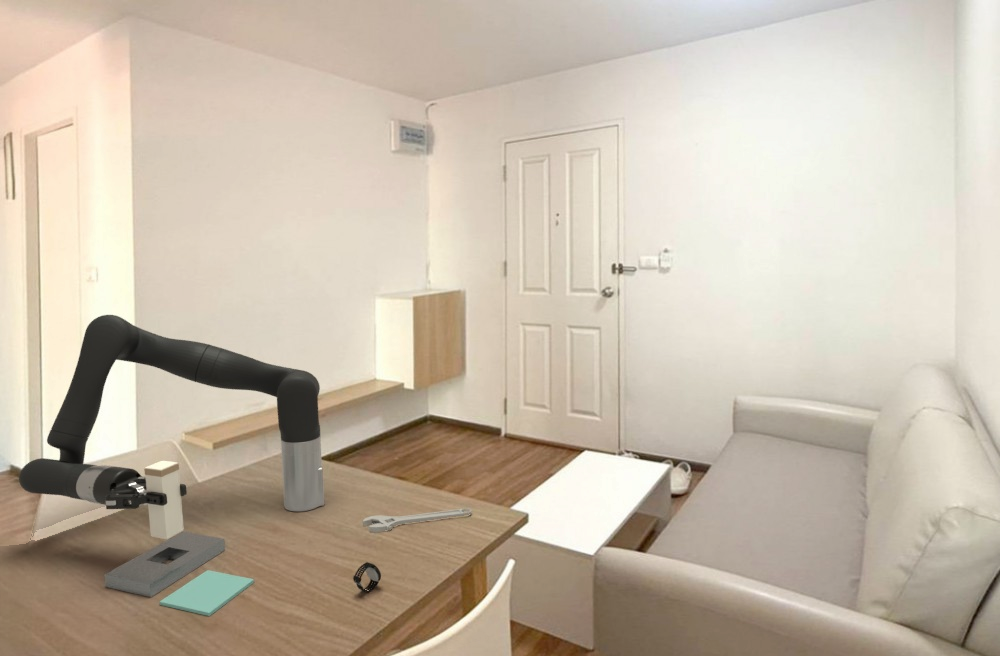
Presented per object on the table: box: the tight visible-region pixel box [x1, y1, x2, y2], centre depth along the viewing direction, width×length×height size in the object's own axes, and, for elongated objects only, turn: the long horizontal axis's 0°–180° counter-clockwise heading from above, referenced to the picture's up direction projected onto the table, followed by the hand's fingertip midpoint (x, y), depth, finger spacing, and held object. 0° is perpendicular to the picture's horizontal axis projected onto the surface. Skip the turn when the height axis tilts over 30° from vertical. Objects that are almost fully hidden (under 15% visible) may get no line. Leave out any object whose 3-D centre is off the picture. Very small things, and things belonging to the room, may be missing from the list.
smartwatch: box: [352, 561, 382, 594], centre depth 108 cm, size 4×5×5 cm
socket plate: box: [104, 530, 226, 598], centre depth 116 cm, size 18×11×2 cm, turn 162°
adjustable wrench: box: [362, 507, 472, 533], centre depth 136 cm, size 25×6×2 cm, turn 102°
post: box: [143, 460, 185, 540], centre depth 115 cm, size 4×4×14 cm
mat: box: [159, 569, 255, 617], centre depth 107 cm, size 11×11×1 cm
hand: (175, 494), depth 114 cm, fingers closed on post, 4 cm apart
